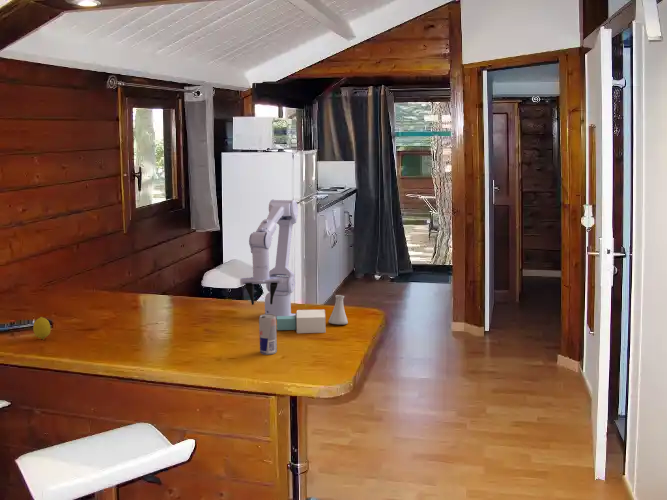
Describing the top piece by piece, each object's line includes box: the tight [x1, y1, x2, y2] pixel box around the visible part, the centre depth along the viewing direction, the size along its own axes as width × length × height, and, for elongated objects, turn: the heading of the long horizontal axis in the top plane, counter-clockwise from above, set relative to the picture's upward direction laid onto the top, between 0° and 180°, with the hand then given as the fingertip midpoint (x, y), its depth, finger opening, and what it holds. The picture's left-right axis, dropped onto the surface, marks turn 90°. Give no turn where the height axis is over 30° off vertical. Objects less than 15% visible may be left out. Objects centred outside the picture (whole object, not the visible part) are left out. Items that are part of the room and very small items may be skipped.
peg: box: [276, 315, 296, 331], centre depth 266 cm, size 8×4×4 cm, turn 92°
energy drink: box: [258, 313, 278, 356], centre depth 239 cm, size 5×5×12 cm
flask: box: [328, 294, 349, 325], centre depth 272 cm, size 7×7×10 cm
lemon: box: [32, 316, 51, 340], centre depth 257 cm, size 6×6×8 cm
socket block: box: [295, 309, 327, 334], centre depth 267 cm, size 10×11×6 cm
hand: (262, 303), depth 265 cm, fingers open, 6 cm apart
